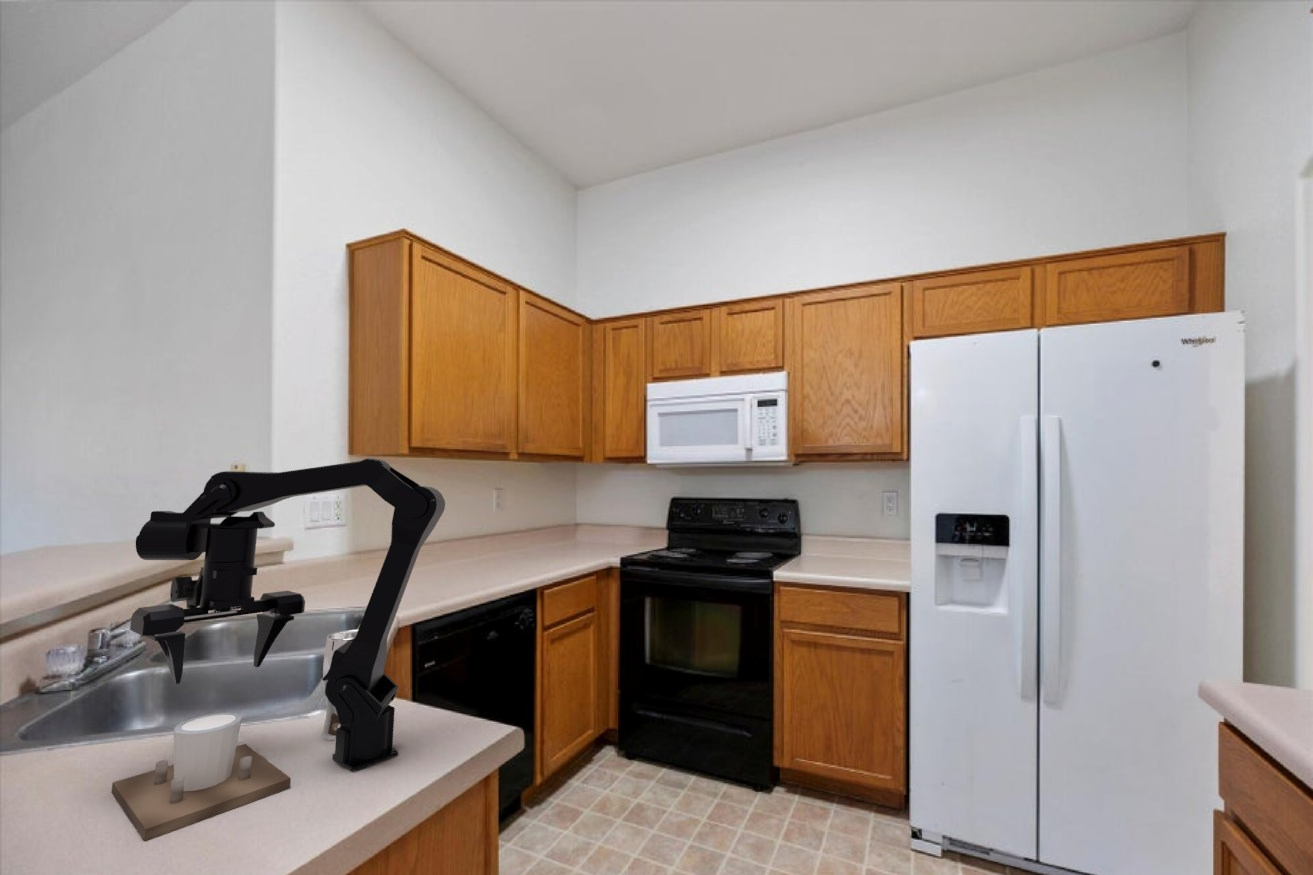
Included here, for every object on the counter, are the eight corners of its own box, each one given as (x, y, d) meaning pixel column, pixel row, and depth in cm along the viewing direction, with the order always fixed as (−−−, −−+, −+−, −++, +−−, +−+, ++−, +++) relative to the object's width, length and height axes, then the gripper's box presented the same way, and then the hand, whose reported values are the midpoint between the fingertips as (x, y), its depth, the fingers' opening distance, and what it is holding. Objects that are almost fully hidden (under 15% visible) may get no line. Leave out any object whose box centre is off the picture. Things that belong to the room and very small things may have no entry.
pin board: (244, 752, 81) (246, 726, 81) (289, 787, 71) (292, 758, 72) (111, 792, 70) (114, 761, 70) (144, 840, 60) (148, 805, 61)
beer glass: (323, 746, 83) (330, 642, 85) (313, 731, 88) (321, 633, 90) (374, 733, 88) (380, 635, 89) (362, 719, 93) (368, 626, 94)
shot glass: (248, 774, 72) (253, 717, 73) (185, 799, 66) (191, 737, 67) (219, 762, 75) (224, 708, 76) (155, 785, 69) (162, 725, 70)
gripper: (277, 551, 92) (268, 650, 90) (124, 561, 76) (110, 680, 75) (310, 556, 85) (301, 662, 84) (151, 568, 70) (136, 698, 68)
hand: (218, 674), depth 78 cm, fingers open, 9 cm apart
